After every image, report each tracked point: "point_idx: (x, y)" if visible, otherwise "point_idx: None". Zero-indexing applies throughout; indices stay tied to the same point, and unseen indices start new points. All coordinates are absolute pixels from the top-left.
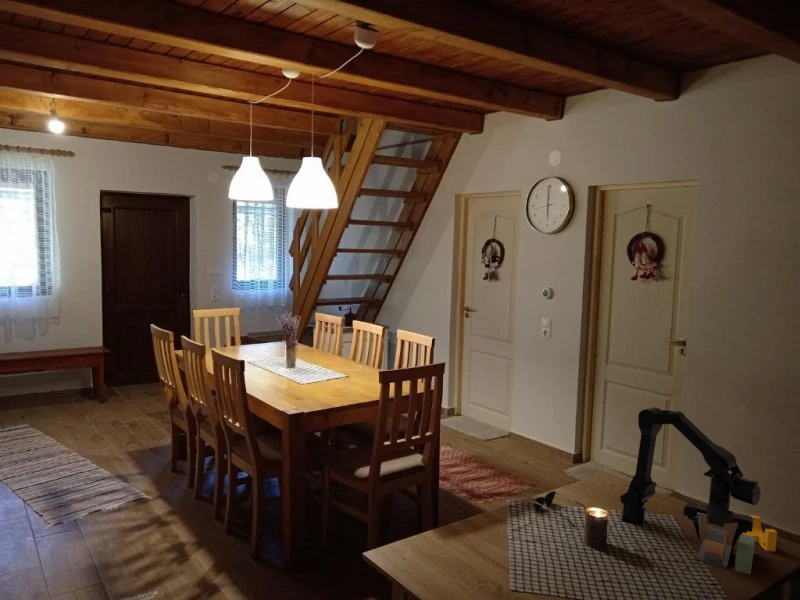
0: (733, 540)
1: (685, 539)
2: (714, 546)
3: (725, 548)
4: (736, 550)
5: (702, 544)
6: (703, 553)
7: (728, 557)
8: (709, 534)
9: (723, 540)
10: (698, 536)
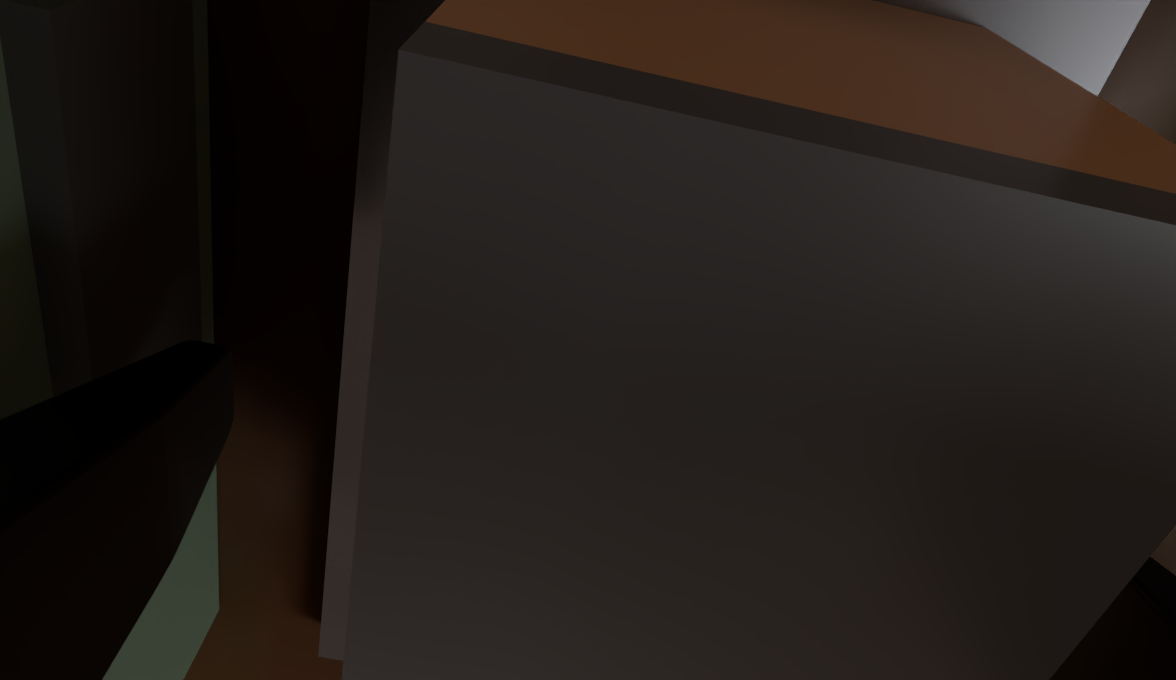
0: (33, 477)
1: None
2: (811, 55)
3: None
4: (43, 148)
5: None
6: None
7: (370, 154)
8: (980, 603)
9: (429, 230)
10: (1151, 573)
